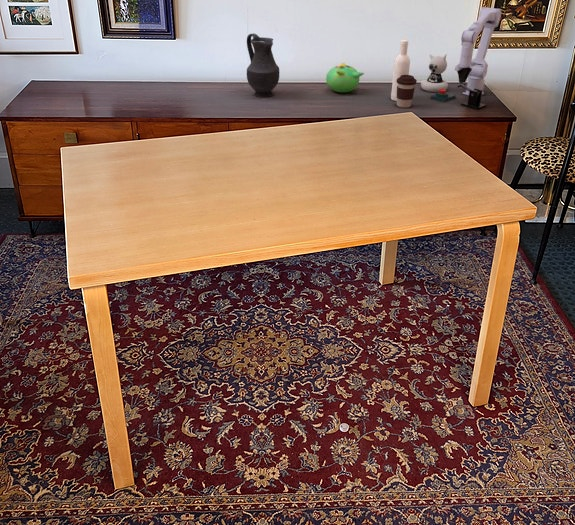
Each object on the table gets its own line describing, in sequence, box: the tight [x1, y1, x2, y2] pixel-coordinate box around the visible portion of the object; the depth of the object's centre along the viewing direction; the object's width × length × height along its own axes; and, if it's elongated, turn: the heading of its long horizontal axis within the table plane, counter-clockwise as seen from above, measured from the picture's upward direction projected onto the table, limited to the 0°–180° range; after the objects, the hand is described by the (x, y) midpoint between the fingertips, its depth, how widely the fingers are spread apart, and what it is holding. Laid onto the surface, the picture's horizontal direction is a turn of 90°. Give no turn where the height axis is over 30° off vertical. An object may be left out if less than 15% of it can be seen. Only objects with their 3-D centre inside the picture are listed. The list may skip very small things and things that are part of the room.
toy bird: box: [325, 62, 365, 93], centre depth 341 cm, size 18×17×15 cm
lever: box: [457, 83, 480, 97], centre depth 325 cm, size 11×6×2 cm, turn 44°
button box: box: [430, 91, 456, 103], centre depth 336 cm, size 11×8×4 cm
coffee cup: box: [396, 74, 418, 109], centre depth 321 cm, size 10×10×15 cm
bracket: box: [460, 89, 487, 111], centre depth 324 cm, size 10×8×8 cm
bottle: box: [390, 39, 411, 102], centre depth 327 cm, size 8×8×30 cm
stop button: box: [439, 89, 447, 94], centre depth 334 cm, size 4×4×2 cm
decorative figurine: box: [420, 54, 449, 93], centre depth 346 cm, size 15×15×20 cm
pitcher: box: [246, 32, 280, 98], centre depth 331 cm, size 17×21×30 cm
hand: (462, 82), depth 327 cm, fingers closed
